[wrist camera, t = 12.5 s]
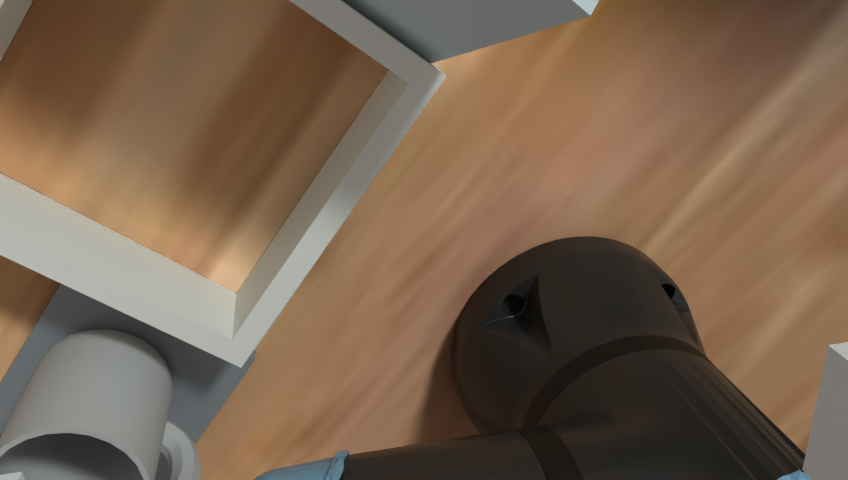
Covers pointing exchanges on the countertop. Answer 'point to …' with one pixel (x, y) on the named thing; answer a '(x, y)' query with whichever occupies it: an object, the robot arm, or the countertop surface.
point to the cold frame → (319, 206)
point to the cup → (97, 414)
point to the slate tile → (189, 366)
